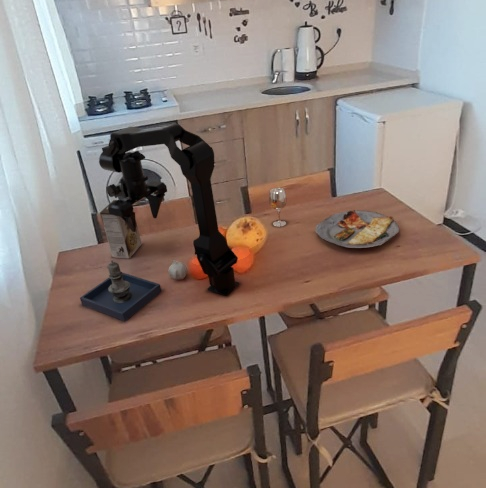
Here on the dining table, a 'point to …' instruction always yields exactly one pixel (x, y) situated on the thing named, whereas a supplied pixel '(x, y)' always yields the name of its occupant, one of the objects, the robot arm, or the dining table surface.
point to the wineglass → (278, 203)
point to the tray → (140, 297)
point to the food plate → (357, 229)
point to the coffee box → (120, 235)
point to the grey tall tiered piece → (118, 284)
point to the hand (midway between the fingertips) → (144, 224)
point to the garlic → (178, 270)
